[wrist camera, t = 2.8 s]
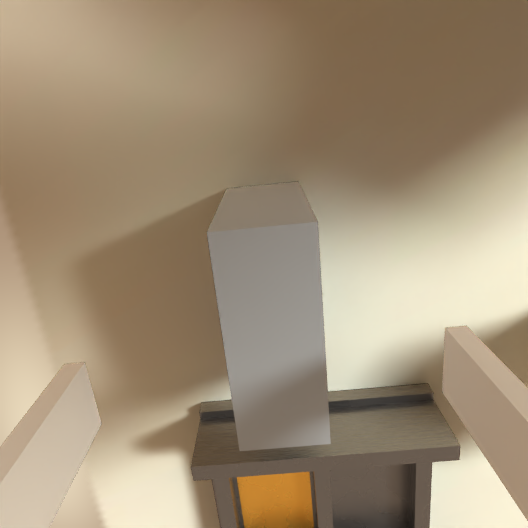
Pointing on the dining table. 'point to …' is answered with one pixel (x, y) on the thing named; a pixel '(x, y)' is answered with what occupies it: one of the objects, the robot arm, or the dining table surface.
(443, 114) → the dining table surface
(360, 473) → the rack
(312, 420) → the block
